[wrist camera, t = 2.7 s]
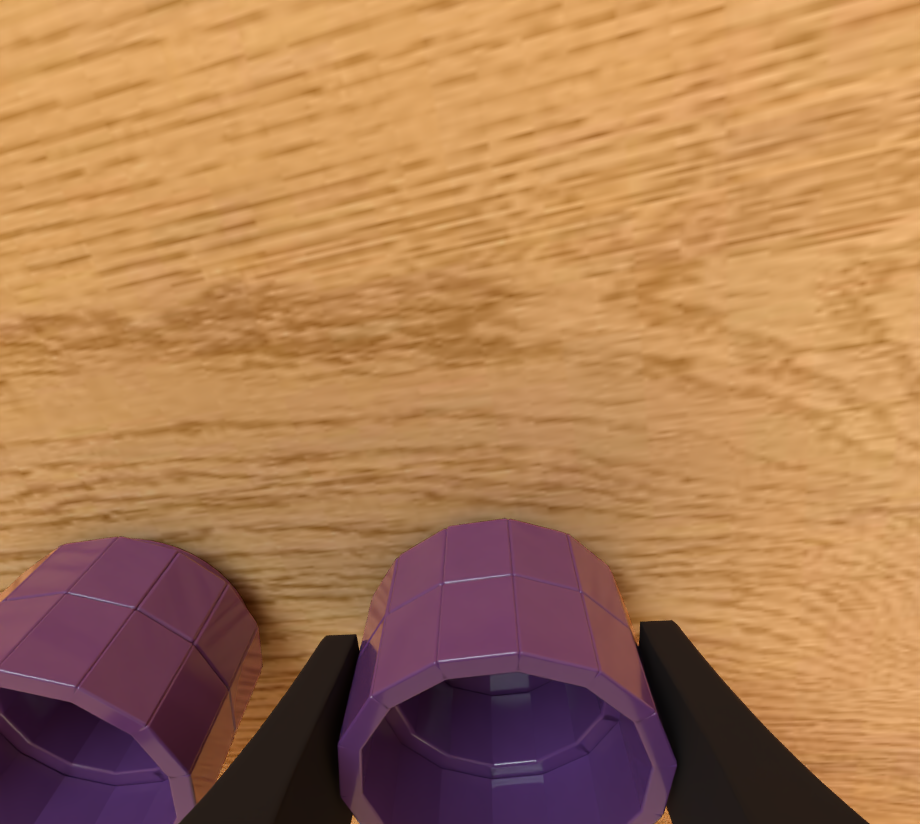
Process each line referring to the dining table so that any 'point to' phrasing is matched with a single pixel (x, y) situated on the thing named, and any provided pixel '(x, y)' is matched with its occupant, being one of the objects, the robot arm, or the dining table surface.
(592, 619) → the purple cup
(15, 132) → the dining table surface
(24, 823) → the purple cup
